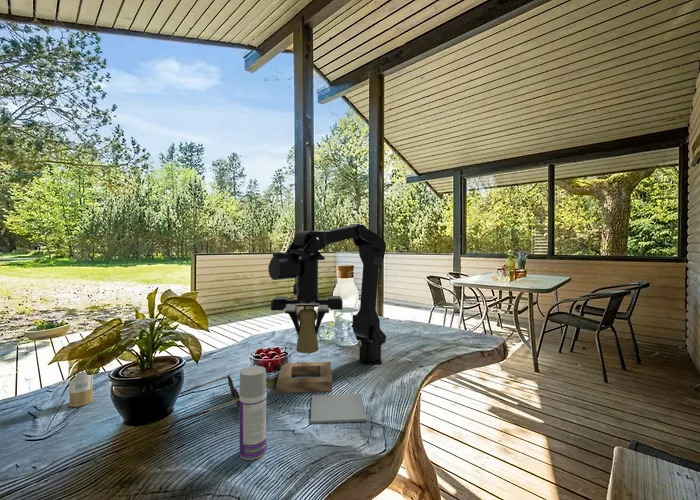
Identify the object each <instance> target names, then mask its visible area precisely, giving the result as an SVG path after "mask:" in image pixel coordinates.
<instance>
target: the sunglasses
mask: <svg viewBox="0 0 700 500" xmlns="http://www.w3.org/2000/svg"><path fill="white" fill-rule="evenodd" d="M225 379H227V382H228V386H229V389H230V394H231V397H232V400H231V401H229V402H226V403H224V404H222V405H218V406H216V407H214V408H211V409H208V410H204V411H202V412H199V413H196V414H192V415H189V416H187V417H183V418H180V419H178V420H176V421H174V422H173V423H172V424H171V425H170V426H168V427H167V429H166V430H168V431H169V430H170V429H171V428H172V427H174V426H175V425H176V424H177V423H180V422H182V421H185V420H188V419H191V418H194V417H197V416H199V415H203V414H206V413H209V412H212V411H214V410H218V409H220V408H223V407H226V406H228V405H231V404H234V403H235V405H236V409H237V410H238V412H239V398H240V393H239V392H238V390H237V388H235V387H234V383H233V379H232V378H231V376H230V375H229V374H227V376H223V377H221V378H217V379H215V380H212V381H209V382H205V383H203V384H201V385H197V386H193V387H191V388H189V389H186V390H183V391H182V392H179V393H180V395H182V394H184V393H185V394H186V393H187V392H190V391H192V390H195V389H198V388H201V387H204V386H206V385H210V384H212V383H215V382H218V381H222V380H225Z"/></svg>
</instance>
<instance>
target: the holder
mask: <svg viewBox="0 0 700 500" xmlns="http://www.w3.org/2000/svg"><path fill="white" fill-rule="evenodd" d="M285 363H286V364H284V365H281V367H280V370H279V374H278V378H277V380H276V384H275V385H276V390H275V391H276V393H277V394H281V393H311V392H332V391H333V376H332V365H331V364H332V363H331V361H312V362H311V361H309V362H307V361H306V362H285ZM308 375H309V376H308ZM312 375H313V376H312ZM314 375H315V376H314ZM316 375H317V376H316ZM318 375H320V376H318ZM293 376H304V377H293ZM306 376H307V377H306ZM311 376H312V377H311Z"/></svg>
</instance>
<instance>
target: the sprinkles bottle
mask: <svg viewBox="0 0 700 500" xmlns="http://www.w3.org/2000/svg"><path fill="white" fill-rule="evenodd" d="M69 374H70V367H69V366H68V375H69ZM93 382H94V381H93V374H92V375H87V374H86V373H85V372H81V373H78V374H77V375H76V376H75V377H74V378H73V379H72V380H71V381H69V380H68V393H69V394H68V395H69V399H68V400H69V401H68V406H69V407H73V408H79V407H83V406H86V405H89V404H91V403H93V401H94V396H93V386H94V385H93Z"/></svg>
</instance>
